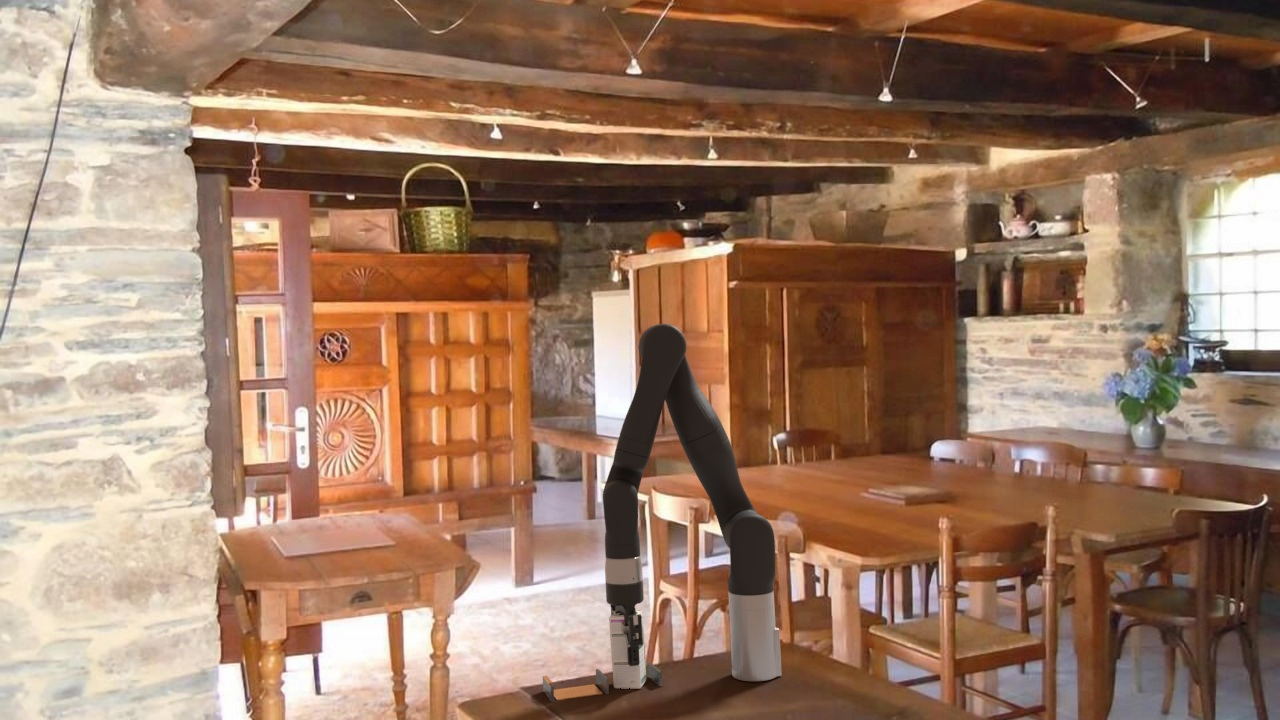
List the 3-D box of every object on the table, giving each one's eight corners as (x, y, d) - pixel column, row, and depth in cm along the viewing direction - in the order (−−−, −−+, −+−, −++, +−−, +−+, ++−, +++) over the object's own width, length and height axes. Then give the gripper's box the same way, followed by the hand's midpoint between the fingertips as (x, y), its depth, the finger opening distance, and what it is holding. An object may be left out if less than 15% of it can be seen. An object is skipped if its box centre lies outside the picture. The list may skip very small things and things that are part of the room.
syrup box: (641, 689, 213) (637, 615, 213) (612, 688, 214) (608, 615, 214) (647, 680, 218) (643, 609, 218) (618, 680, 219) (614, 609, 220)
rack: (650, 676, 221) (649, 660, 221) (662, 686, 214) (661, 669, 214) (542, 691, 215) (541, 674, 215) (551, 702, 207) (550, 684, 207)
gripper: (652, 583, 211) (656, 667, 210) (631, 571, 224) (635, 649, 224) (616, 587, 208) (620, 672, 208) (596, 574, 222) (600, 654, 222)
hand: (628, 660), depth 216 cm, fingers closed on syrup box, 7 cm apart
